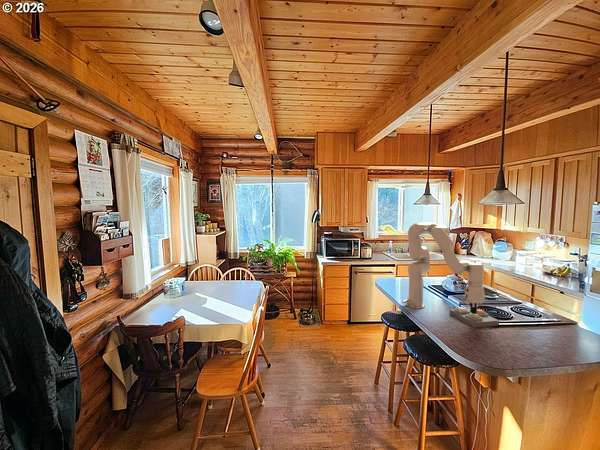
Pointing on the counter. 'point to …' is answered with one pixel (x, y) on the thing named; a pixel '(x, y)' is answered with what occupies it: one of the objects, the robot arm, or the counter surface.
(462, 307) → the cream button
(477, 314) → the sage button
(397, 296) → the counter surface
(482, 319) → the button panel
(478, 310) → the terracotta button
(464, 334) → the counter surface
